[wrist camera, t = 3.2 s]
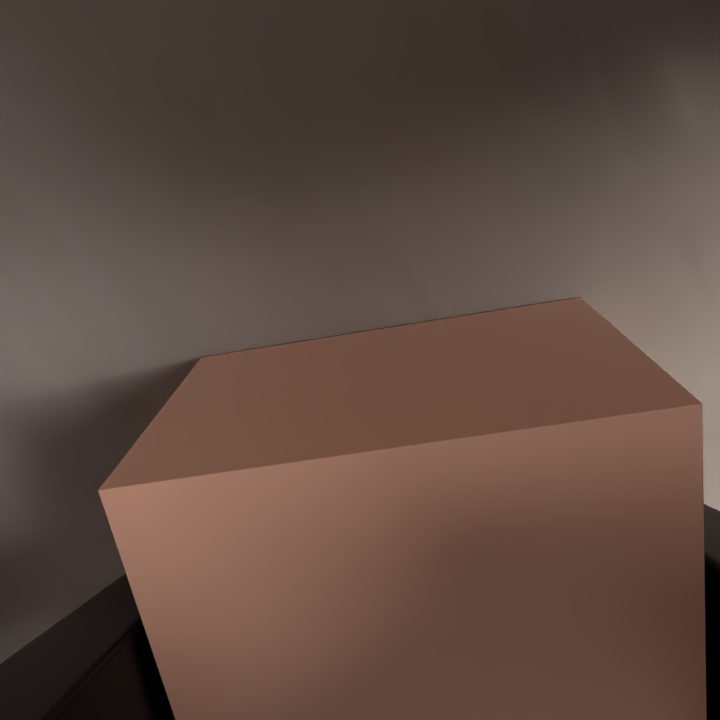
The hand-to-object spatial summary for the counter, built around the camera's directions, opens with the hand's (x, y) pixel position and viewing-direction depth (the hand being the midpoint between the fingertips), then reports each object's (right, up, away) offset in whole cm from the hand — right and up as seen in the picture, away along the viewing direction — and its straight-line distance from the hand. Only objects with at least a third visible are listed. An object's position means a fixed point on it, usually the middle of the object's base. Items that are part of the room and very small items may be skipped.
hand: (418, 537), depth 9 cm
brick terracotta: (0, 0, +1) cm, 1 cm away
